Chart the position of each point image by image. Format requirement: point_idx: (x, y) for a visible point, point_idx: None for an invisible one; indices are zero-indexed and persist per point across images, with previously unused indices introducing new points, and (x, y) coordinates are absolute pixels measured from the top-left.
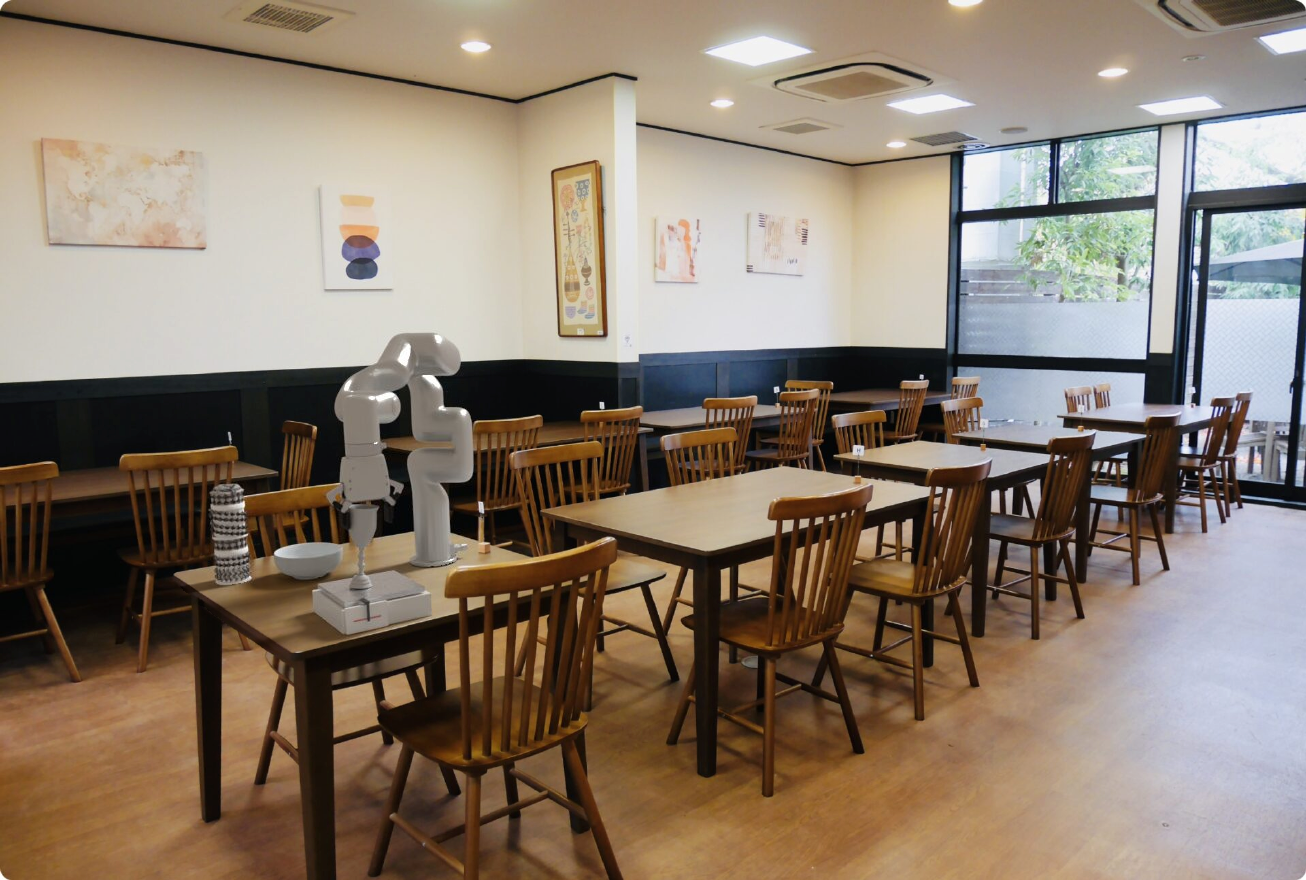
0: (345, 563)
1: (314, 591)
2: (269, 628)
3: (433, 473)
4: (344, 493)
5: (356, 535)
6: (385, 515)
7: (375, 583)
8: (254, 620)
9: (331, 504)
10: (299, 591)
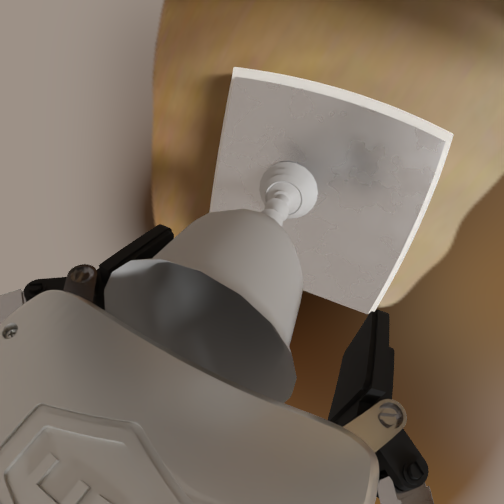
0: None
1: (232, 79)
2: (163, 108)
3: None
4: (38, 314)
5: (207, 276)
6: (361, 345)
7: (329, 199)
8: (165, 50)
9: (36, 285)
10: None
